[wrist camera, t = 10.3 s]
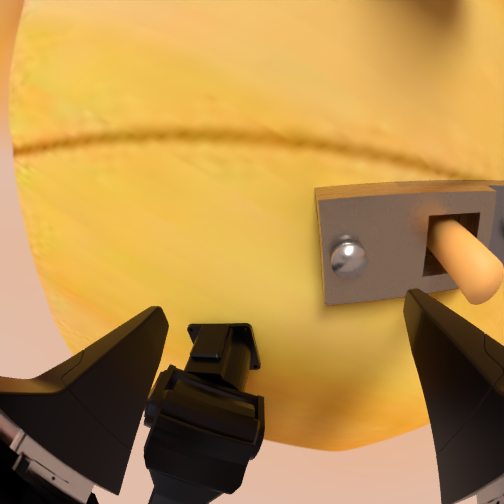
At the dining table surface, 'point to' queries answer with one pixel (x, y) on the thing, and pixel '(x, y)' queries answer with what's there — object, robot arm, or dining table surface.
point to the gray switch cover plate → (390, 237)
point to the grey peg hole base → (500, 242)
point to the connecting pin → (464, 258)
